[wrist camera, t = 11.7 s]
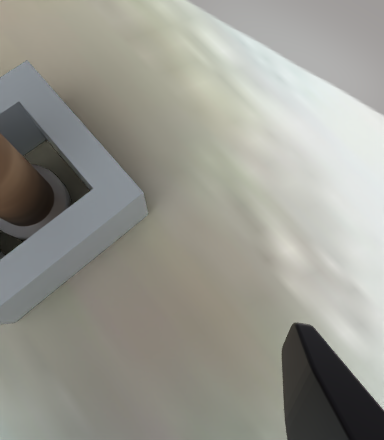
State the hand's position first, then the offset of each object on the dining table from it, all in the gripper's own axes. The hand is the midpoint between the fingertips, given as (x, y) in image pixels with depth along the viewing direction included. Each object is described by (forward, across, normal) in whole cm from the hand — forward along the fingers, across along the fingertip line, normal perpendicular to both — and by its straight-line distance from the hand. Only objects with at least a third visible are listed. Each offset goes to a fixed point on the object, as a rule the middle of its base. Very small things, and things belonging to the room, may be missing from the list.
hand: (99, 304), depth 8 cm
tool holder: (+13, +8, +6) cm, 16 cm away
